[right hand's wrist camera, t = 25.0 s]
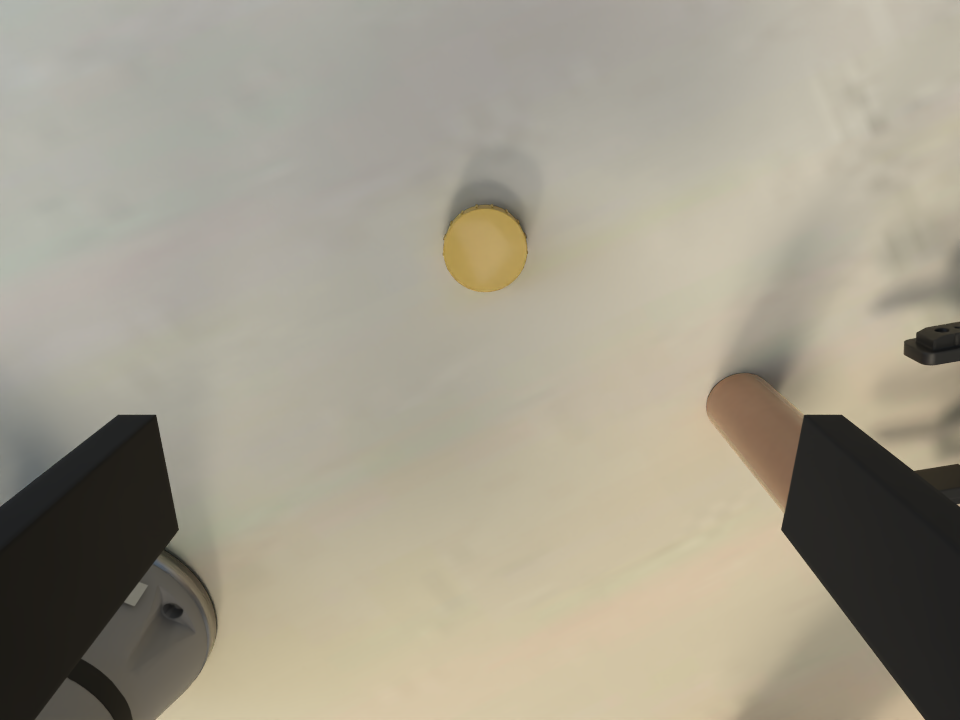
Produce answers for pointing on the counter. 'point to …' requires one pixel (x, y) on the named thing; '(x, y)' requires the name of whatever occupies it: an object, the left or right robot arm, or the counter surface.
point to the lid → (485, 248)
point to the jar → (758, 429)
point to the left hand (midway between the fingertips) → (908, 424)
